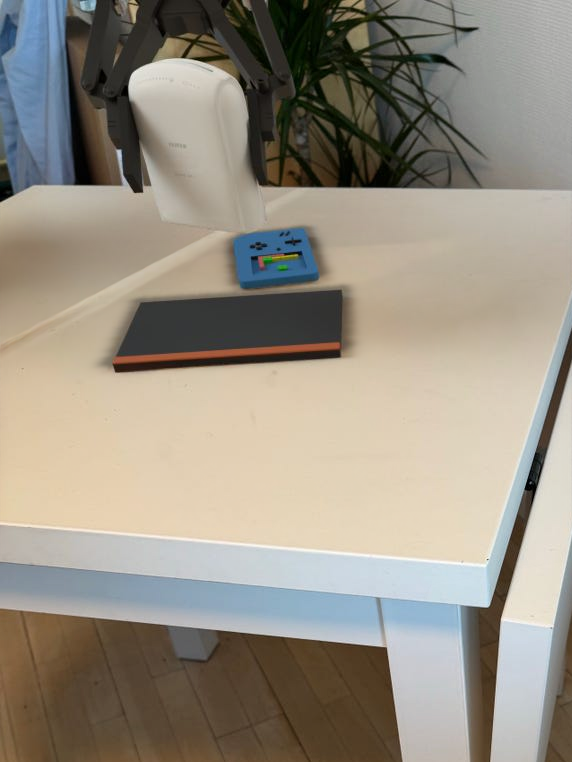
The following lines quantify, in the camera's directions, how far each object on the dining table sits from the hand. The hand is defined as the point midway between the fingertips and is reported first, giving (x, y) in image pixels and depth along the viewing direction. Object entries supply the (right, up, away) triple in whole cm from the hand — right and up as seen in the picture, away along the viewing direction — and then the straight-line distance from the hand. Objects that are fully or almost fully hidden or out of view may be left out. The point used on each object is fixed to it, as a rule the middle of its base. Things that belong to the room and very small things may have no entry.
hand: (197, 180), depth 74 cm
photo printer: (0, -1, +5) cm, 6 cm away
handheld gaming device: (+1, +4, +25) cm, 26 cm away
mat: (0, -8, +12) cm, 15 cm away
